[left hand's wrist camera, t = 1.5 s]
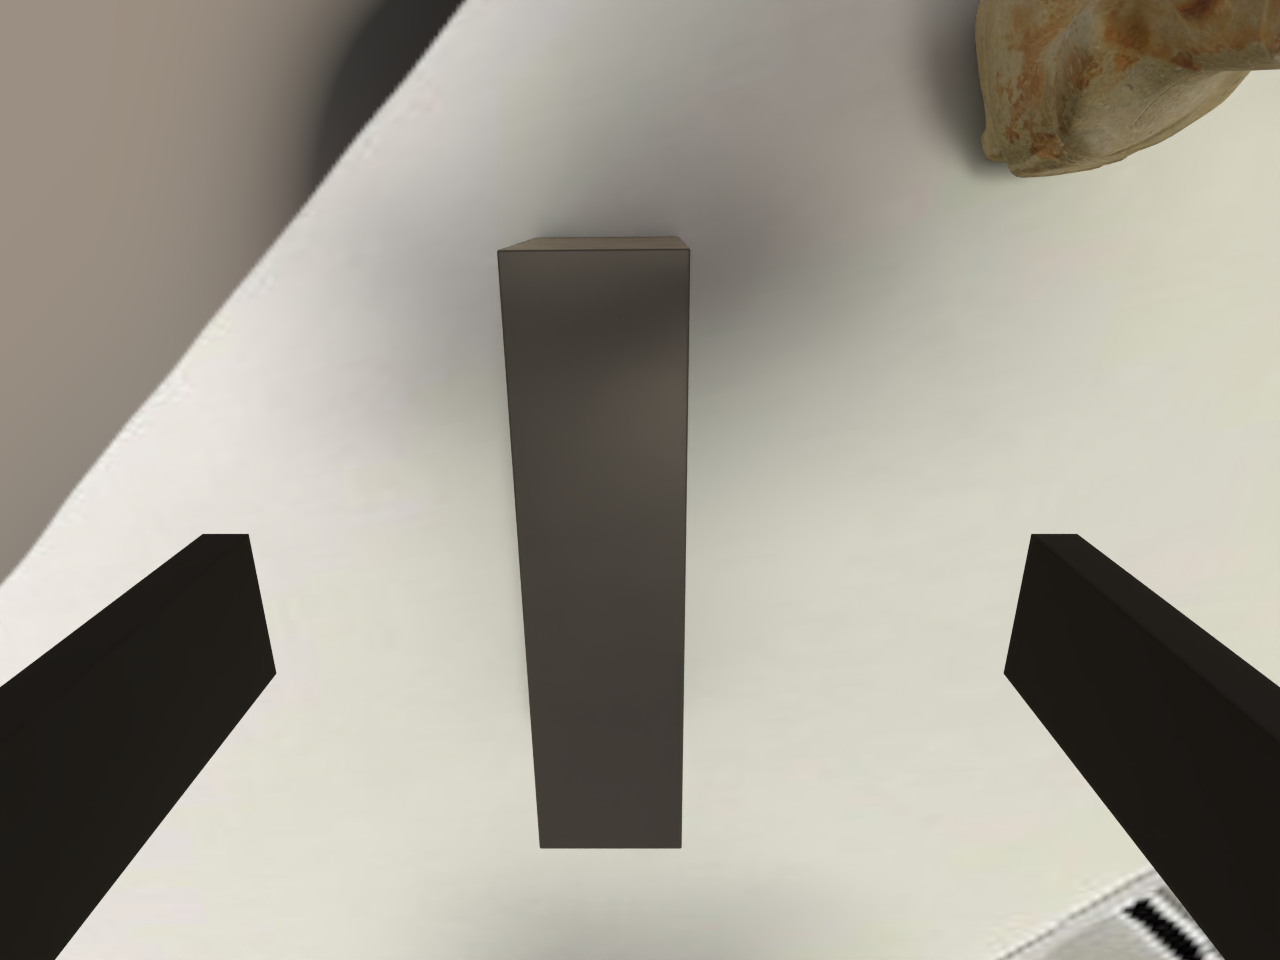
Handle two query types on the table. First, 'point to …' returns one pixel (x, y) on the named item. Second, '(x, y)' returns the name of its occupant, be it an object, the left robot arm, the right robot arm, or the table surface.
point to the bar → (601, 527)
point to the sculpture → (1109, 74)
